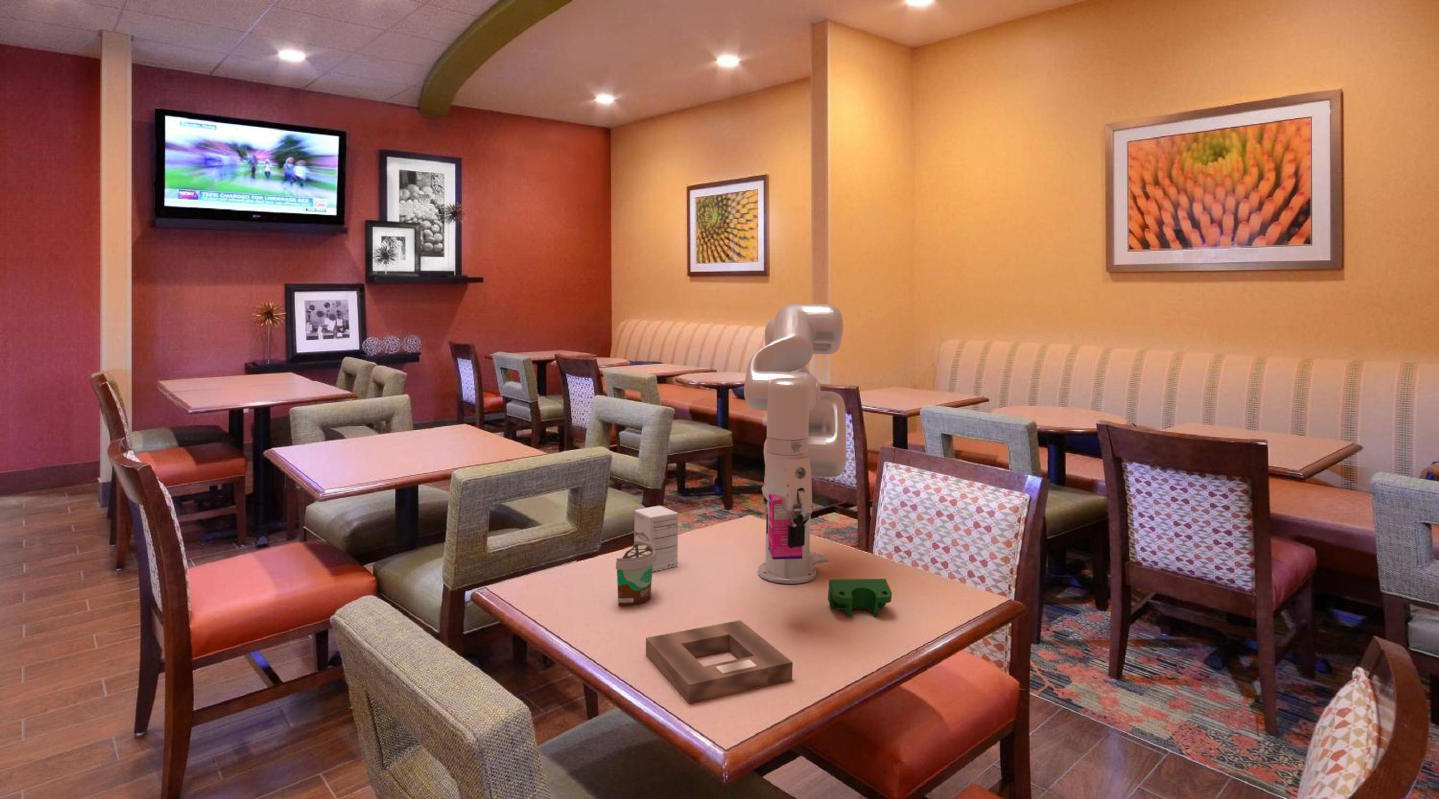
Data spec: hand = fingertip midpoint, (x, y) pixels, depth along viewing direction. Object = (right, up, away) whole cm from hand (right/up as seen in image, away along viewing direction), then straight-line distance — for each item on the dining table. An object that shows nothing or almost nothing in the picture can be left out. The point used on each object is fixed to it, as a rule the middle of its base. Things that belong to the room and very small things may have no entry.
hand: (784, 539), depth 150 cm
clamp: (+15, -16, +7) cm, 23 cm away
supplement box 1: (-26, -12, +32) cm, 43 cm away
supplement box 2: (0, -3, +1) cm, 3 cm away
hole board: (-13, -18, -16) cm, 28 cm away
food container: (-28, -14, +12) cm, 34 cm away
